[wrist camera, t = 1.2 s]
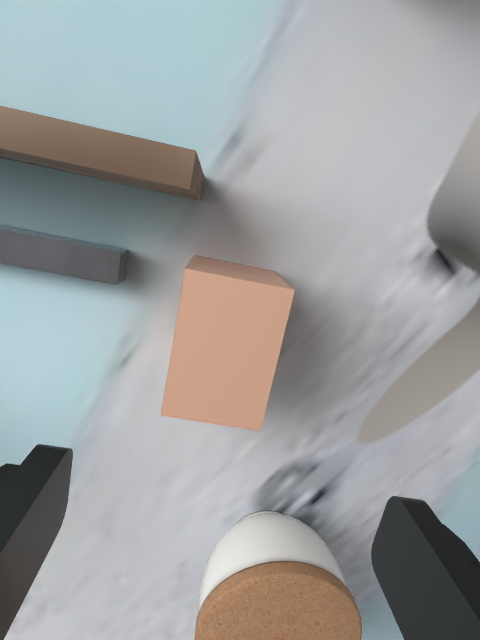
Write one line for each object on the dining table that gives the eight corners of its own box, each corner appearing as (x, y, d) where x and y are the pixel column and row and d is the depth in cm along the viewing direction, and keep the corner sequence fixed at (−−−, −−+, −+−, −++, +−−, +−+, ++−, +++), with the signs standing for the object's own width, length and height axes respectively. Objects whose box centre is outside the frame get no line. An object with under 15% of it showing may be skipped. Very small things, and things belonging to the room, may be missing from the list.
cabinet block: (194, 255, 25) (185, 268, 18) (274, 271, 26) (294, 290, 19) (174, 366, 27) (160, 415, 20) (250, 379, 28) (260, 430, 21)
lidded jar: (346, 563, 32) (396, 695, 23) (233, 608, 33) (238, 755, 24) (300, 466, 30) (336, 574, 21) (177, 517, 30) (160, 644, 21)
